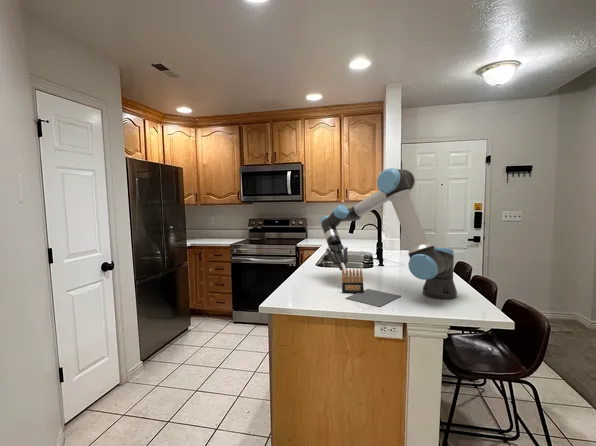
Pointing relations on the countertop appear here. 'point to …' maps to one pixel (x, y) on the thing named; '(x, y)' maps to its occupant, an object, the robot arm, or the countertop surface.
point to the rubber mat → (373, 297)
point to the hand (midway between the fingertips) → (345, 274)
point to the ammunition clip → (351, 285)
